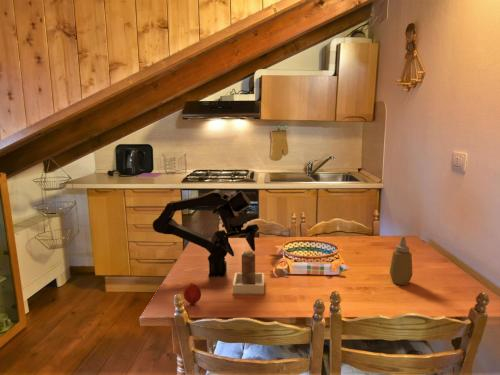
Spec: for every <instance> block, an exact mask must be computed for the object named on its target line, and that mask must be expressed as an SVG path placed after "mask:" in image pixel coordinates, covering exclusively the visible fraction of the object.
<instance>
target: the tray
mask: <svg viewBox="0 0 500 375" xmlns="http://www.w3.org/2000/svg"><path fill="white" fill-rule="evenodd" d="M232 295H244V296H245V295H246V296H247V295H255V296H257V295H258V296H263V295H265V272H255V284H242V272H234V277H233V281H232Z"/></svg>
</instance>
